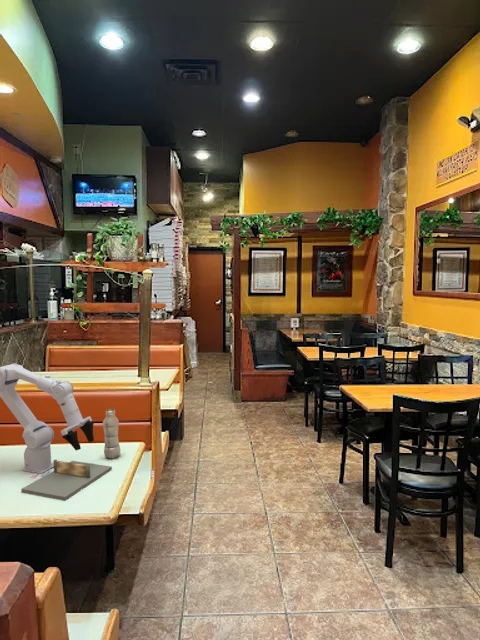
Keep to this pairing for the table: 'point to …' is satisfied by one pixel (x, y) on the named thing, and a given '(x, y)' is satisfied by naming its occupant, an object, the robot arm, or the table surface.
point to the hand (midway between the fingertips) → (85, 445)
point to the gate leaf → (71, 468)
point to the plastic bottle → (111, 434)
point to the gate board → (65, 482)
